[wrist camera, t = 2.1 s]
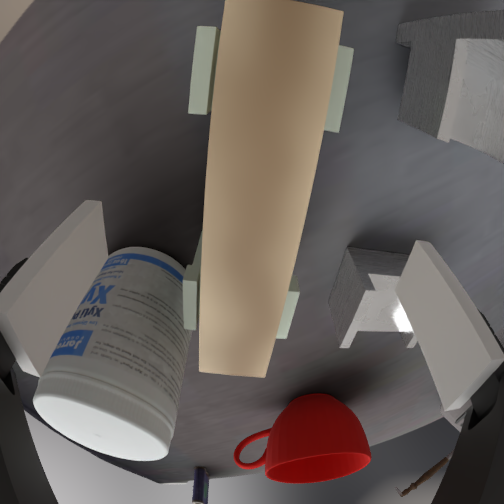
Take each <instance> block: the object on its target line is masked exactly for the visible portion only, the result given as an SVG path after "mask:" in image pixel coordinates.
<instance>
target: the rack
mask: <svg viewBox="0 0 504 504" xmlns="http://www.w3.org/2000/svg"><path fill="white" fill-rule="evenodd" d="M220 35H221V31H220V30H219V29H218V28H217V27H209V26H197V33H196V40H195V49H194V57H193V66H192V76H191V86H190V97H189V109H188V114H204V115H207V114H208V113H209V112H210V111H212V102H213V93H214V84H215V75H216V66H217V58H218V50H219V42H220ZM353 53H354V49H353V48H349V47H345V46H341V45H339V47H338V53H337V59H336V65H335V71H334V77H333V83H332V89H331V94H330V100H329V105H328V111H327V116H326V121H325V127H324V130H326V131H331V132H336V133H339V129H340V124H341V119H342V114H343V109H344V104H345V98H346V93H347V88H348V82H349V76H350V71H351V65H352V59H353ZM202 234H203V229H202V233H201V236H200V239H199V243H198V246H197V250H196V253H195V257H194V261H193V264H192V265H187V267H186V271H185V274H184V277H183V319H184V329H189V330H196V329H197V323H198V318H199V314H200V283H201V256H202ZM299 293H300V290H299V284H298V279H297V276H292V277H291V281H290V285H289V289H288V293H287V297H286V301H285V305H284V308H283V312H282V316H281V320H280V324H279V328H278V331H277V335H276V338H282V339H286V338H287V335H288V331H289V328H290V324H291V321H292V318H293V314H294V311H295V307H296V304H297V300H298V297H299Z"/></svg>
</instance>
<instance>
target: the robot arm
mask: <svg viewBox="0 0 504 504" xmlns="http://www.w3.org/2000/svg"><path fill="white" fill-rule="evenodd" d="M108 258H109V256H108V250H107V243H106V235H105V227H104V219H103V209H102V201H94V200H85V201H84V202H83V203H82V204H81V205H80V206H79V207H78V208H77V209H76V210H75V211H74V212H73V213H72V214H71V215H70V216H69V217H68V218H67V219H66V220H65V221H64V222H63V223H62V224H61V225H60V226H59V227H58V228H57V229H56V230H55V231H54V232H53V233H52V234H51V235H50V236H49V237H48V238H47V239H46V240H45V241H44V242H43V243H42V244H41V246H40V247H39V248H38V249H37V250H36V251H35V252H34V253H33V254H32V255H31V257H30V258H25V259H24V260H22V261H21V262H19V263H18V264H16V265H15V266H14V267H13V268H12V269H11V270H10V272H9V273H8V274H7V277H4V279H3V280H2V281H1V284H0V504H58V502H57V500H56V497H55V495H54V493H53V491H52V489H51V486H50V484H49V482H48V479H47V477H46V475H45V472H44V470H43V467H42V465H41V462H40V459H39V456H38V454H37V451H36V448H35V445H34V442H33V439H32V436H31V433H30V430H29V426H28V423H27V420H26V416H25V413H24V409H23V405H22V401H21V397H20V393H19V389H18V384H17V380H16V375H15V372H14V370H13V368H12V366H13V364H14V362H15V360H16V361H17V362H18V364H19V366H20V367H21V369H22V370H23V371H24V372H27V373H29V374H32V375H35V376H38V377H41V375H42V373H43V371H44V369H45V367H46V365H47V363H48V361H49V359H50V357H51V355H52V353H53V352H54V350H55V348H56V346H57V344H58V342H59V340H60V338H61V336H62V335H63V333H64V331H65V329H66V327H67V326H68V324H69V322H70V320H71V318H72V317H73V315H74V313H75V311H76V310H77V308H78V306H79V305H80V303H81V301H82V300H83V298H84V296H85V295H86V293H87V291H88V290H89V288H90V286H91V285H92V283H93V281H94V280H95V278H96V277H97V275H98V274H99V272H100V270H101V269H102V267H103V266H104V264H105V263H106V261H107V260H108ZM395 292H396V294H397V296H398V298H399V300H400V303H401V305H402V307H403V309H404V311H405V313H406V316H407V318H408V320H409V322H410V324H411V327H412V329H413V331H414V334H415V336H416V338H417V341H418V343H419V345H420V348H421V350H422V352H423V355H424V357H425V360H426V362H427V365H428V367H429V370H430V372H431V375H432V378H433V380H434V383H435V385H436V388H437V391H438V394H439V396H440V399H441V402H442V405H443V408H444V411H449V410H454V409H459V408H461V407H462V406H463V405H464V404H465V403H466V402H467V401H468V400H469V399H470V400H471V402H472V405H471V406H470V407H469V408H468V409H467V410H466V411H465V412H464V413H463V414H462V415H461V416H460V417H459V418H458V419H457V420H456V422H455V423H456V424H458V423H459V422H460V421H461V420H462V419H464V422H463V423H462V424H461V425H460V426H461V427H462V429H461V432H460V435H459V438H458V441H457V444H456V446H455V449H454V452H453V455H452V457H451V460H450V462H449V465H448V467H447V470H446V472H445V475H444V477H443V479H442V482H441V484H440V486H439V489H438V491H437V493H436V495H435V497H434V499H433V501H432V503H431V504H504V348H503V347H502V345H501V343H500V341H499V340H498V338H497V336H496V335H494V331H493V329H492V328H491V327H490V324H489V323H488V321H487V320H486V318H485V316H484V315H483V314H482V313H481V312H480V311H479V310H478V309H477V308H476V306H475V305H474V303H473V302H472V300H471V299H470V297H469V296H468V294H467V293H466V291H465V290H464V288H463V287H462V285H461V284H460V282H459V281H458V280H457V278H456V277H455V275H454V274H453V273H452V271H451V270H450V268H449V267H448V266H447V264H446V263H445V261H444V260H443V259H442V257H441V256H440V255H439V253H438V252H437V251H436V249H435V248H434V247H433V246H432V244H431V243H430V242H426V241H420V240H416V242H415V244H414V247H413V249H412V251H411V254H410V256H409V259H408V261H407V263H406V265H405V268H404V270H403V272H402V274H401V277H400V279H399V281H398V283H397V285H396V288H395Z"/></svg>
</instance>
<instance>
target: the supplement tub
mask: <svg viewBox="0 0 504 504" xmlns="http://www.w3.org/2000/svg"><path fill="white" fill-rule="evenodd" d="M185 271H186V270H185V268H184V267H183V266H182V265H181V264H179V263H178V262H177V261H176V260H174V259H173V258H172V257H170V256H168V255H166V254H164V253H162V252H160V251H157V250H154V249H150V248H145V247H127V248H123V249H120V250H118V251H115V252H113V253H112V254H110V255H109V258H108V260H107V261H106V263H105V264H104V266H103V267H102V269H101V270H100V272H99V274H98V275H97V277H96V278H95V280H94V281H93V283H92V285H91V286H90V288H89V290H88V291H87V293H86V295H85V296H84V298H83V300H82V301H81V303H80V305H79V306H78V308H77V310H76V311H75V313H74V315H73V317H72V318H71V320H70V322H69V324H68V326H67V327H66V329H65V331H64V333H63V335H62V336H61V338H60V340H59V342H58V344H57V346H56V348H55V350H54V352H53V353H52V355H51V357H50V359H49V361H48V363H47V365H46V367H45V369H44V371H43V373H42V375H41V377H40V379H39V381H38V387H37V390H36V392H35V395H34V398H33V404H34V406H35V409H36V410H37V412H38V413H39V414H40V416H41V417H42V418H43V419H44V420H45V421H46V422H47V423H48V424H50V425H51V426H52V427H53V428H55V429H56V430H58V431H59V432H60V433H62V434H64V435H65V436H67V437H68V438H70V439H72V440H74V441H76V442H78V443H80V444H82V445H84V446H86V447H88V448H91V449H93V450H96V451H98V452H101V453H104V454H108V455H111V456H115V457H119V458H123V459H129V460H136V461H153V460H158V459H161V458H163V457H165V456H166V455H167V454H168V451H169V447H170V441H171V439H172V437H173V434H174V428H175V423H176V417H177V411H178V405H179V399H180V393H181V387H182V382H183V376H184V370H185V365H186V360H187V354H188V349H189V344H190V339H191V334H192V330H189V329H184V319H183V277H184V274H185Z"/></svg>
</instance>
